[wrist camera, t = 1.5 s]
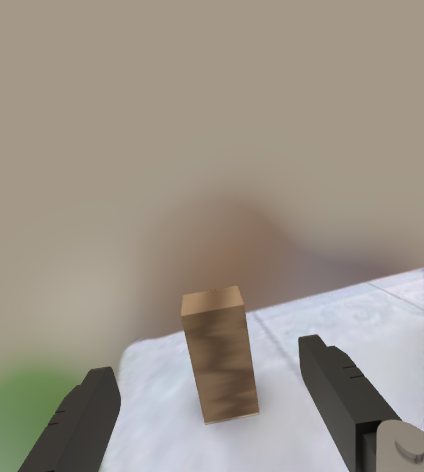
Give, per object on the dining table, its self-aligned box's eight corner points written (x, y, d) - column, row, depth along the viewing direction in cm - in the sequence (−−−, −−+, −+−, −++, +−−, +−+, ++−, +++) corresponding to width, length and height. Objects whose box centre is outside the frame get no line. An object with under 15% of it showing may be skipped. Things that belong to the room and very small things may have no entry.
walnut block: (251, 383, 34) (237, 285, 30) (259, 414, 29) (244, 304, 25) (204, 392, 34) (183, 295, 29) (205, 424, 29) (180, 316, 25)
